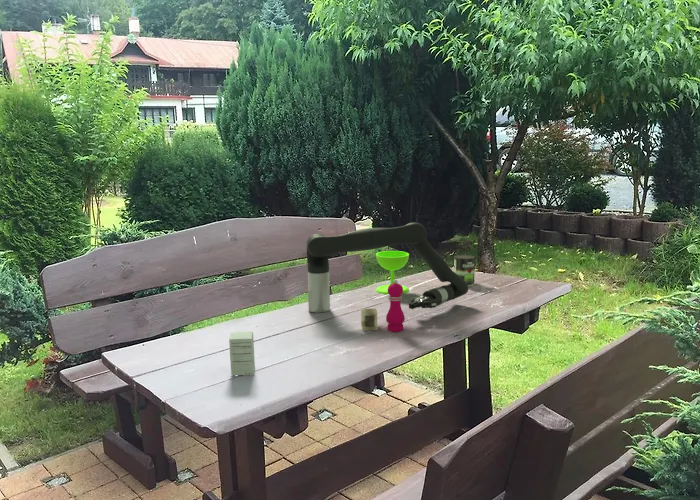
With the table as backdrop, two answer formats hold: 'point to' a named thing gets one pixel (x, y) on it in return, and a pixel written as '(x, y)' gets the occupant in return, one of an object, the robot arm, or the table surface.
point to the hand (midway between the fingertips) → (410, 306)
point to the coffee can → (465, 268)
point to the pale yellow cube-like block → (369, 319)
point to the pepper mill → (395, 308)
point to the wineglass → (391, 266)
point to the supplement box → (242, 353)
